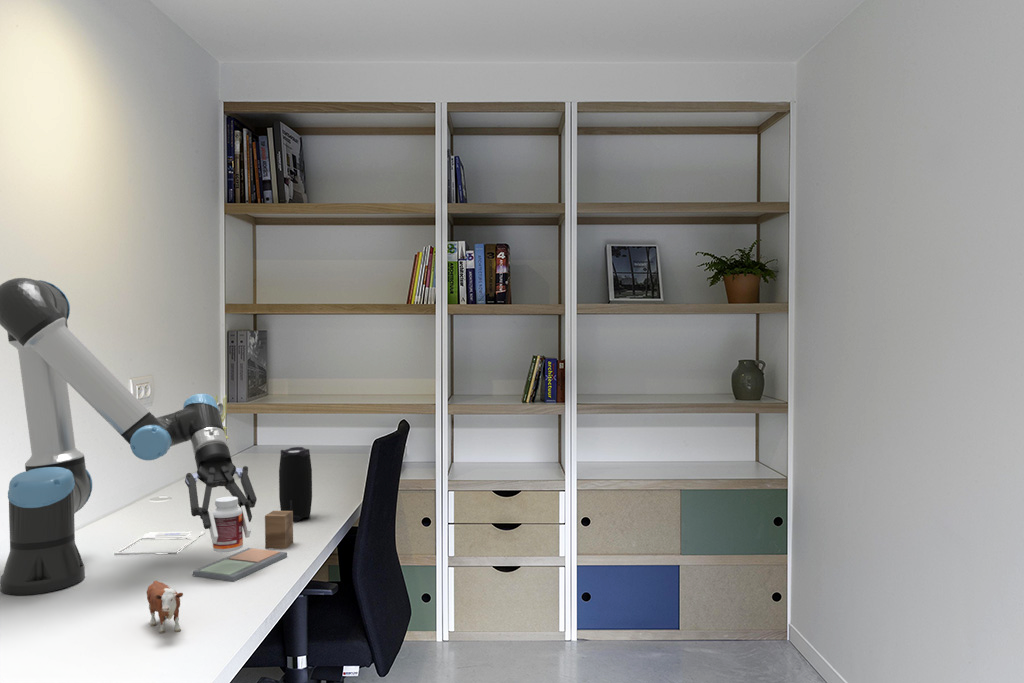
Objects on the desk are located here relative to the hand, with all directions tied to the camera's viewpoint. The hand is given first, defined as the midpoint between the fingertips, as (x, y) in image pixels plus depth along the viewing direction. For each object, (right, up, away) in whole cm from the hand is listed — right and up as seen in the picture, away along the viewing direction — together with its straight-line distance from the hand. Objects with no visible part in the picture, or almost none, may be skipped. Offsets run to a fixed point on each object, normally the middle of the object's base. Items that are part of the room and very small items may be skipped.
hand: (231, 536), depth 162 cm
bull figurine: (-2, -9, -27) cm, 29 cm away
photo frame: (-27, -9, +25) cm, 38 cm away
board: (-1, -8, +7) cm, 11 cm away
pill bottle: (-2, -4, +3) cm, 5 cm away
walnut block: (+3, -8, +23) cm, 25 cm away
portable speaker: (0, -8, +49) cm, 49 cm away
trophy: (-43, -7, +101) cm, 110 cm away
